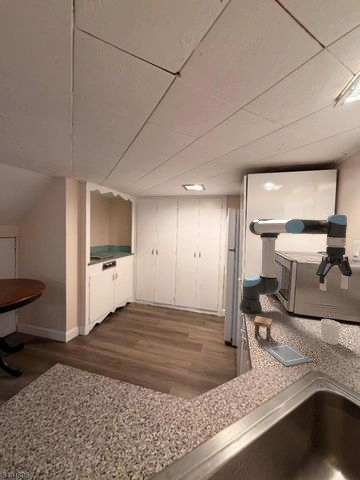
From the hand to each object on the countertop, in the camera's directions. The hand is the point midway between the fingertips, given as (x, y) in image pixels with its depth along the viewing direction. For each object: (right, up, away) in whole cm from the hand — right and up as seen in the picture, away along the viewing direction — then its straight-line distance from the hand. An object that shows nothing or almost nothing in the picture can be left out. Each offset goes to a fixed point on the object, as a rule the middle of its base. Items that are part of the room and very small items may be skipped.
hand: (333, 289), depth 100 cm
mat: (-28, -27, -9) cm, 40 cm away
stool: (-33, -26, +7) cm, 42 cm away
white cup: (0, -28, +3) cm, 28 cm away
